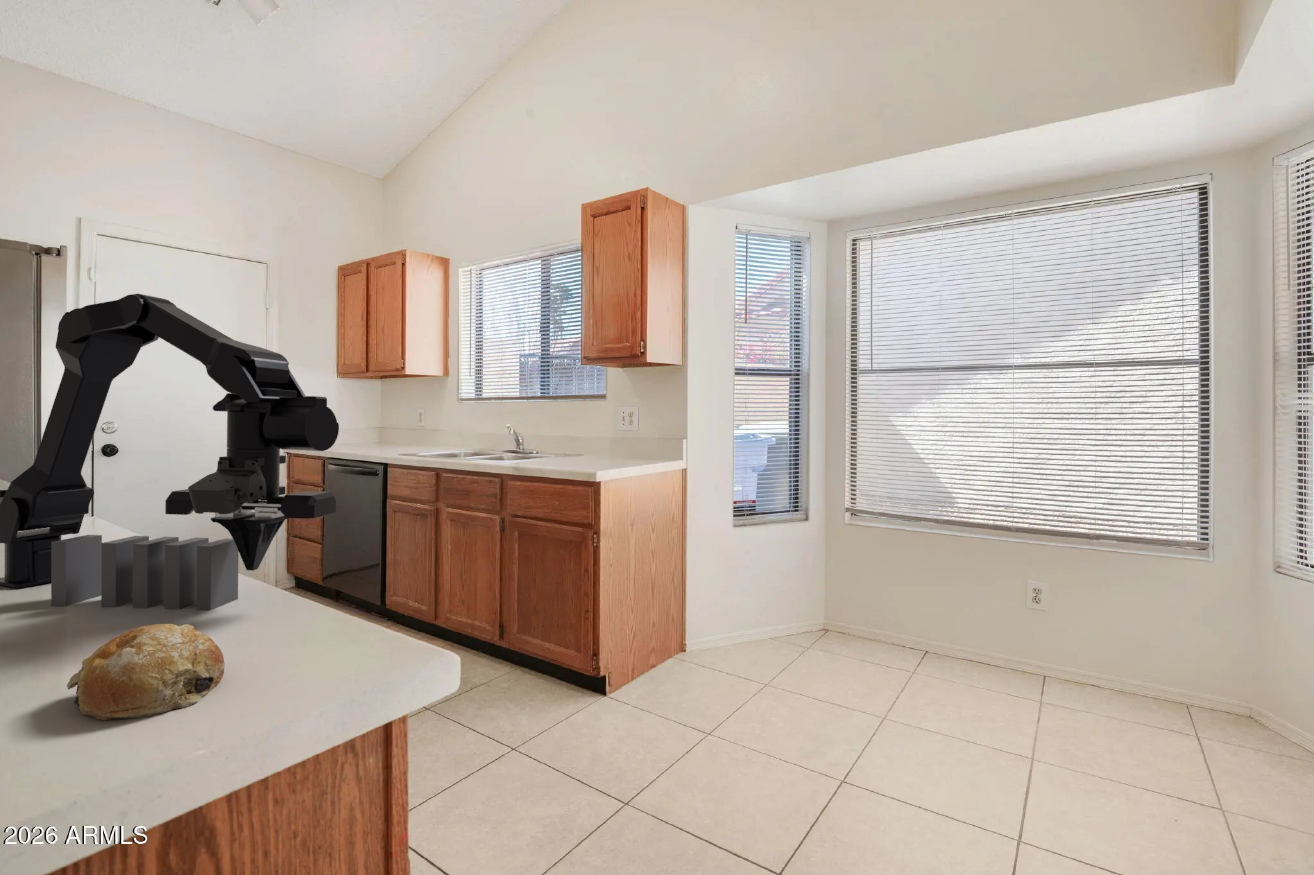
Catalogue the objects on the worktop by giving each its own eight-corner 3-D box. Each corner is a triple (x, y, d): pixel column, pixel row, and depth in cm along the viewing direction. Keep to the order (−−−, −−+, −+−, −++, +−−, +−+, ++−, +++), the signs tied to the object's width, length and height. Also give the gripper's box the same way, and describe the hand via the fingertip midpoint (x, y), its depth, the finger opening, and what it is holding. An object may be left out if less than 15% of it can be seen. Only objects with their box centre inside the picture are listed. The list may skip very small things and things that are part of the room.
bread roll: (136, 771, 50) (180, 682, 50) (21, 712, 50) (64, 622, 50) (224, 713, 60) (261, 638, 59) (128, 663, 60) (164, 589, 60)
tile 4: (164, 608, 79) (165, 544, 78) (194, 597, 84) (195, 537, 83) (178, 609, 79) (179, 545, 78) (208, 598, 84) (208, 538, 83)
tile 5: (196, 609, 79) (196, 546, 78) (224, 598, 84) (225, 538, 83) (210, 610, 79) (211, 546, 78) (237, 599, 84) (238, 538, 83)
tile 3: (132, 607, 79) (133, 544, 78) (164, 596, 84) (165, 536, 83) (147, 608, 79) (147, 544, 78) (178, 597, 84) (178, 537, 83)
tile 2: (101, 606, 79) (101, 543, 79) (135, 595, 84) (135, 535, 84) (115, 607, 79) (115, 543, 79) (148, 596, 84) (148, 536, 84)
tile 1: (51, 605, 79) (51, 542, 78) (88, 594, 84) (88, 534, 83) (65, 606, 79) (65, 542, 78) (101, 595, 84) (101, 535, 83)
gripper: (127, 448, 73) (126, 583, 73) (288, 453, 72) (286, 589, 73) (199, 445, 84) (198, 562, 84) (338, 449, 83) (337, 566, 84)
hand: (252, 570), depth 81 cm, fingers closed
